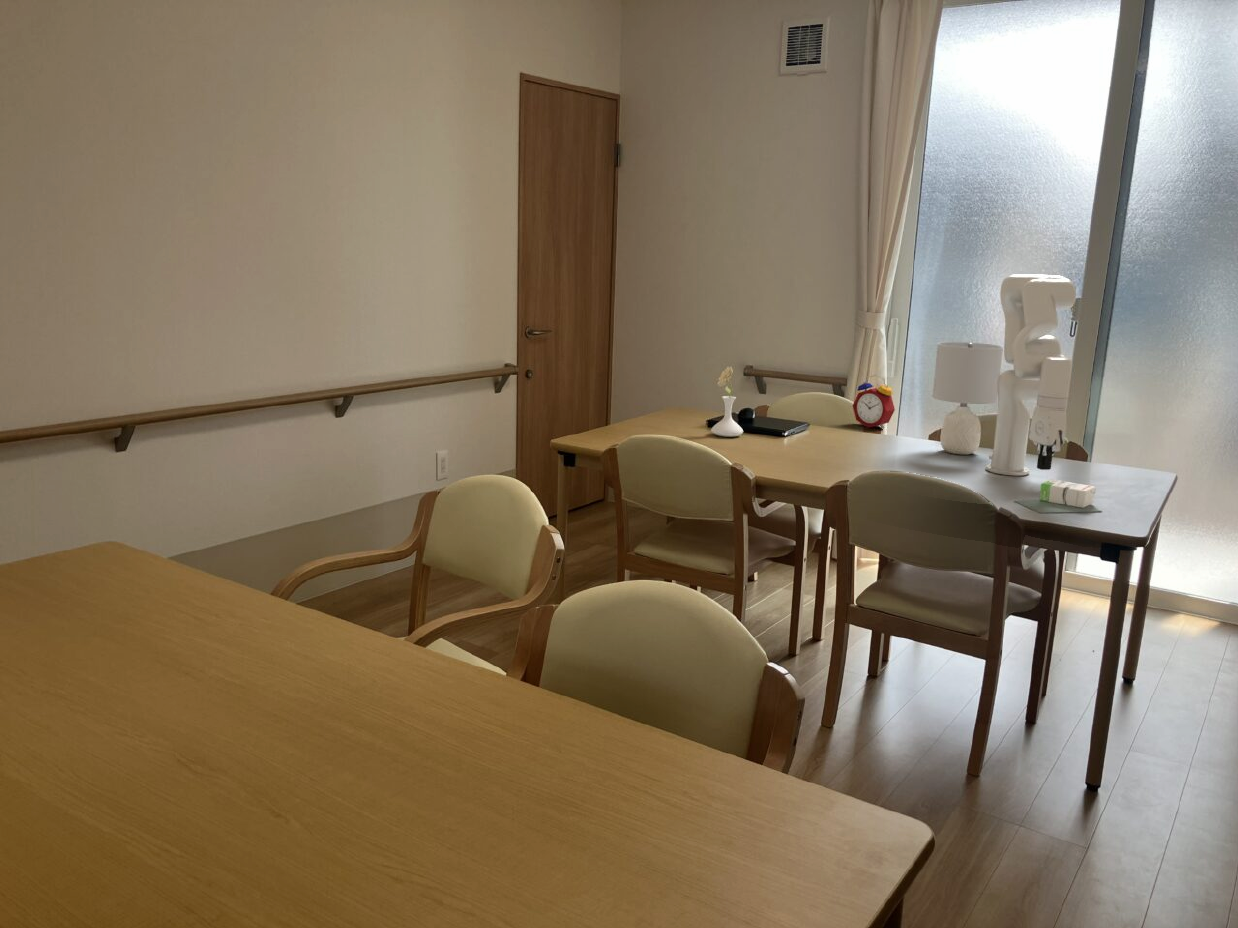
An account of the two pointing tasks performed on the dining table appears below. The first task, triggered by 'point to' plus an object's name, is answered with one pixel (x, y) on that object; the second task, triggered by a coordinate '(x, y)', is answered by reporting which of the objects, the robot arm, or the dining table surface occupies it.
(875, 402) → the alarm clock
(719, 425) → the flower in vase
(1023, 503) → the felt mat
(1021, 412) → the robot arm
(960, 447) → the lamp
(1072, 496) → the ink box
